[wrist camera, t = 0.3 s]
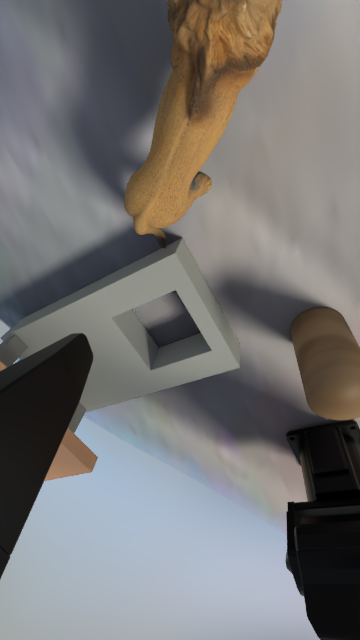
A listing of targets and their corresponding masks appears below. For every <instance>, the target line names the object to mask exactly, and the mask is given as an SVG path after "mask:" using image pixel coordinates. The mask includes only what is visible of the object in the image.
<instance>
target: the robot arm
mask: <svg viewBox="0 0 360 640" xmlns="http://www.w3.org/2000/svg"><path fill="white" fill-rule="evenodd" d="M92 363H93V352H92V349H91V347H90V344H89V342H88V339H87V337H86V335H85V334H83V333H73V334H70V335H68V336H66V337H64V338H62V339H60V340H58V341H57V342H55V343H53V344H51V345H49V346H47V347H45V348H43V349H41V350H39V351H37V352H36V353H34V354H32V355H30V356H28V357H26V358H24V359H22V360H20V361H18V362H17V363H15V364H13V365H11V366H9V367H7V368H5V369H3V370H1V371H0V579H1V576H2V574H3V571H4V570H5V567H6V565H7V563H8V561H9V559H10V555H11V554H12V551H13V549H14V547H15V545H16V542H17V540H18V538H19V536H20V534H21V531H22V529H23V527H24V524H25V522H26V520H27V518H28V516H29V513H30V511H31V509H32V507H33V505H34V502H35V500H36V498H37V495H38V493H39V491H40V489H41V487H42V484H43V482H44V480H45V478H46V476H47V473H48V471H49V469H50V467H51V464H52V462H53V460H54V458H55V455H56V453H57V451H58V449H59V447H60V444H61V442H62V440H63V438H64V435H65V433H66V431H67V429H68V426H69V424H70V422H71V420H72V418H73V415H74V413H75V411H76V409H77V406H78V404H79V401H80V399H81V396H82V393H83V390H84V387H85V384H86V381H87V378H88V375H89V372H90V369H91V366H92ZM286 436H287V440H288V442H289V444H290V446H291V448H292V449H293V451H294V453H295V455H296V457H297V459H298V460H299V462H300V464H301V466H302V472H303V477H304V483H305V488H306V494H307V499H308V502H298V503H295V502H288V512H287V554H286V566H287V569H288V570H289V571H290V572H291V573H292V574H293V576H294V579H295V582H296V585H297V588H298V590H299V592H300V594H301V595H302V596H304V598H305V604H306V612H307V617H308V619H309V621H310V623H311V624H312V627H313V628H314V630H315V632H316V634H317V636H318V637H319V638H320V640H360V429H359V427H358V424H357V422H355V421H346V422H341V423H336V424H330V425H325V426H320V427H315V428H309V429H304V430H299V431H294V432H289V433H287V435H286Z"/></svg>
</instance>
